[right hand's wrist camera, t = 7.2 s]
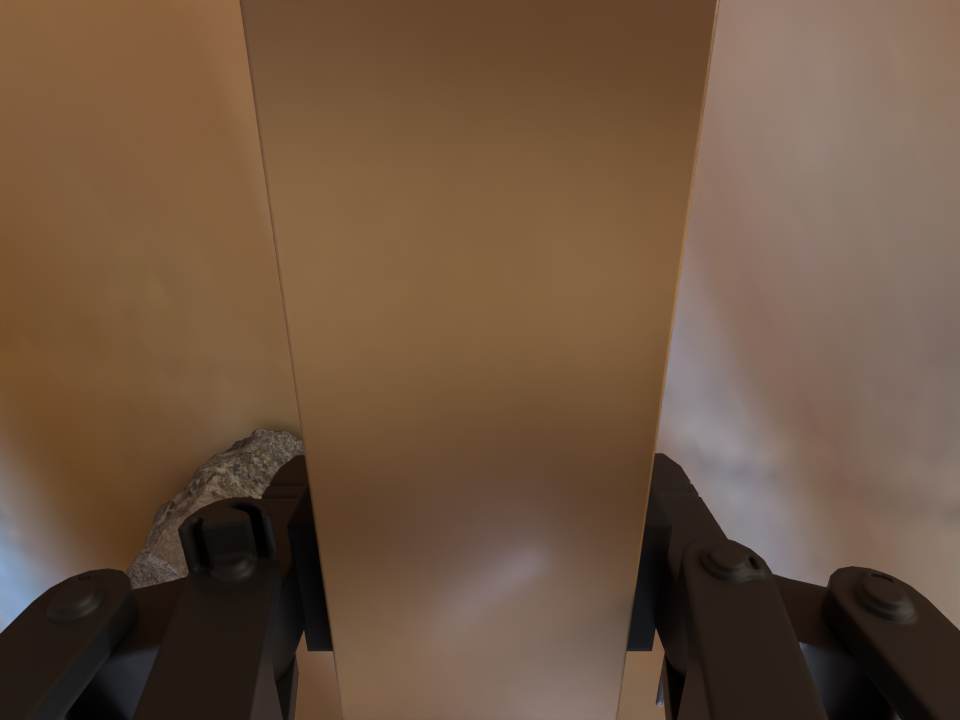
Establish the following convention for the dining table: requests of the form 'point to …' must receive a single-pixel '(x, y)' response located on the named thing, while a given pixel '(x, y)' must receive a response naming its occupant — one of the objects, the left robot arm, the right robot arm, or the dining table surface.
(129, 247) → the dining table surface
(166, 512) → the rock
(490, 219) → the bar
